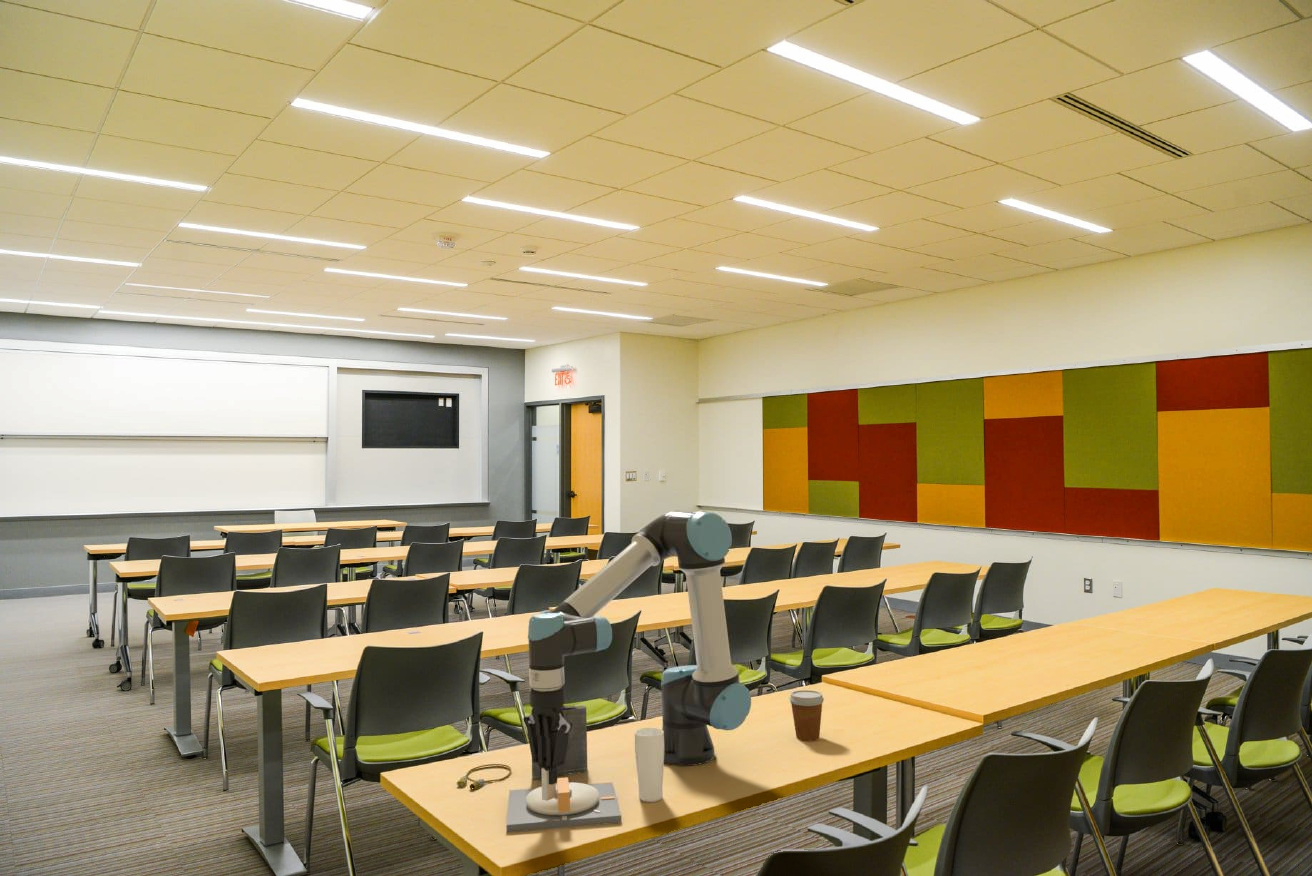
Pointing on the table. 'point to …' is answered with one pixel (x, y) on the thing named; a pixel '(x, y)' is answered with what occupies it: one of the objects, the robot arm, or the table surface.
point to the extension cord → (481, 781)
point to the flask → (572, 743)
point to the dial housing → (530, 820)
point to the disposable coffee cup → (807, 713)
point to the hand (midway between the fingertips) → (549, 798)
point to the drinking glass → (650, 763)
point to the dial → (564, 799)
